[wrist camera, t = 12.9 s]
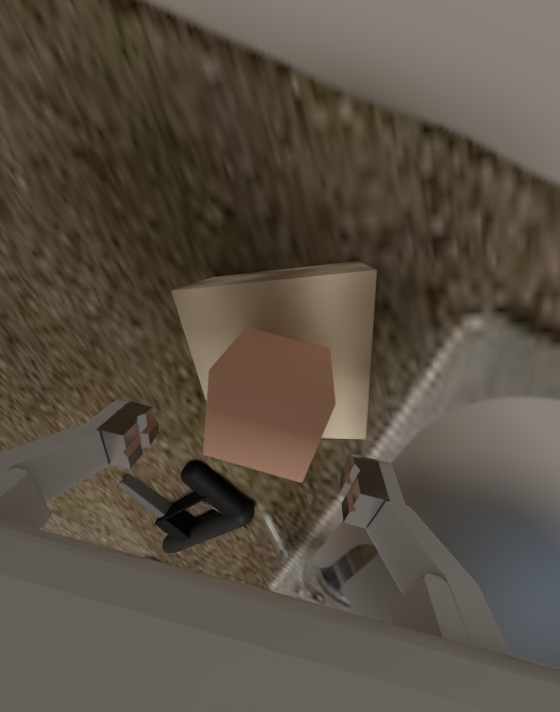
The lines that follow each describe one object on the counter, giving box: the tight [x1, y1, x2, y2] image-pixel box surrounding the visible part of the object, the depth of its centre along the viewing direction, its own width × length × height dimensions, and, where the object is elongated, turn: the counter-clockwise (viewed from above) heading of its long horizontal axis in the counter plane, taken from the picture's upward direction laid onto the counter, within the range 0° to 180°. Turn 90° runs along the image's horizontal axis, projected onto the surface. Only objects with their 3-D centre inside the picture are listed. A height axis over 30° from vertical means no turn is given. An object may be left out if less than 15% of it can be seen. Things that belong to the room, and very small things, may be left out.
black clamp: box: [117, 461, 254, 553], centre depth 33 cm, size 3×20×16 cm
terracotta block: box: [203, 327, 336, 483], centre depth 12 cm, size 5×5×5 cm
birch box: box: [171, 261, 377, 439], centre depth 17 cm, size 11×11×6 cm
